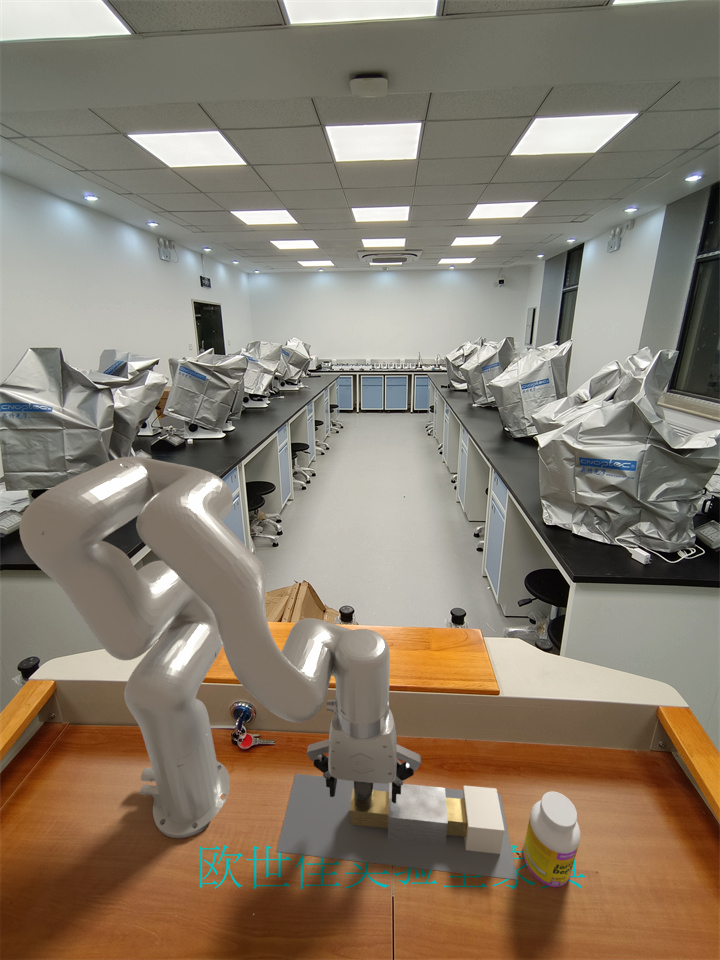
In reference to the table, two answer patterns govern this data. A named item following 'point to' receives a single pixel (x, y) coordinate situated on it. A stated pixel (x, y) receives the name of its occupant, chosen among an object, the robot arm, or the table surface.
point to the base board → (376, 834)
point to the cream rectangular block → (483, 820)
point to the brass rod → (374, 807)
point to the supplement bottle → (552, 839)
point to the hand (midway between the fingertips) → (363, 790)
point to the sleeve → (418, 814)
